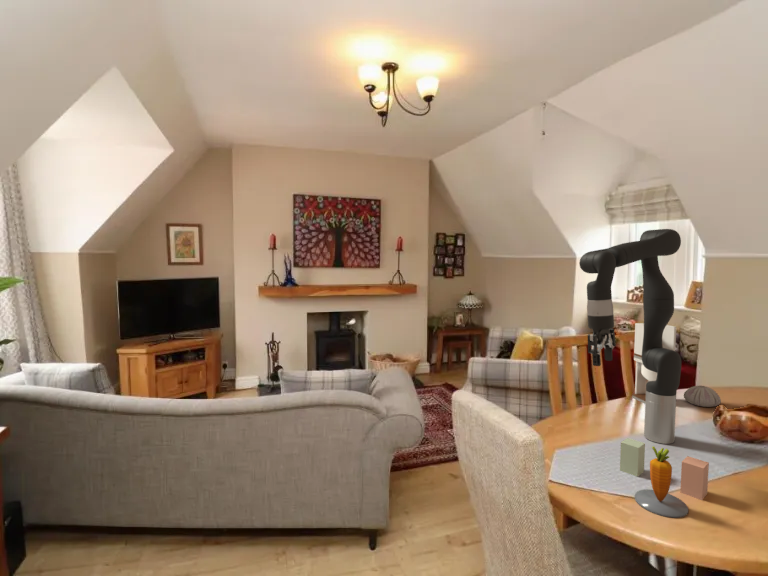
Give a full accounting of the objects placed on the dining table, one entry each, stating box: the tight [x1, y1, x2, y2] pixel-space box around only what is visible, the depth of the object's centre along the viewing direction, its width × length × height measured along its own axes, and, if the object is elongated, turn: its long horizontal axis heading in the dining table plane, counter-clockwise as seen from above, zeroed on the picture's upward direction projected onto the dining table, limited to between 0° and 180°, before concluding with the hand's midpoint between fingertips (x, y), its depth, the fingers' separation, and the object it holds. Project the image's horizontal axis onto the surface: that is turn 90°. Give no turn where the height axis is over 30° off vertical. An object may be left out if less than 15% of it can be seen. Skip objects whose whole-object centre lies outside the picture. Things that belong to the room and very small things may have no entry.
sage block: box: [619, 437, 646, 477], centre depth 131 cm, size 5×5×9 cm
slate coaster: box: [634, 489, 689, 519], centre depth 114 cm, size 12×12×1 cm
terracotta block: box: [679, 455, 710, 501], centre depth 118 cm, size 5×5×9 cm
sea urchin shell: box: [683, 385, 722, 408], centre depth 189 cm, size 13×14×8 cm
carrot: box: [649, 446, 673, 502], centre depth 113 cm, size 5×5×15 cm
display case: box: [632, 322, 677, 405], centre depth 191 cm, size 11×11×35 cm
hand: (602, 363), depth 137 cm, fingers open, 8 cm apart
